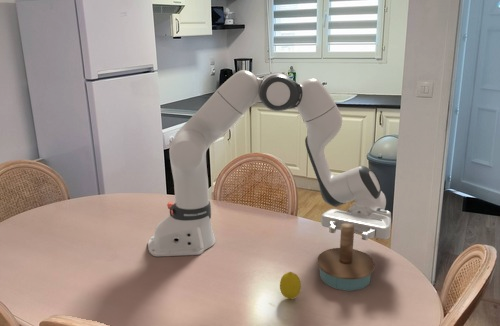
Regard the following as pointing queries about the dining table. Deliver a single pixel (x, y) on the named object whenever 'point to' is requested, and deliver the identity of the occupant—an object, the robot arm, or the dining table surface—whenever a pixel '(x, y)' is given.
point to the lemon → (290, 285)
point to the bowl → (344, 282)
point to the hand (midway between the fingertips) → (347, 233)
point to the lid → (346, 258)
